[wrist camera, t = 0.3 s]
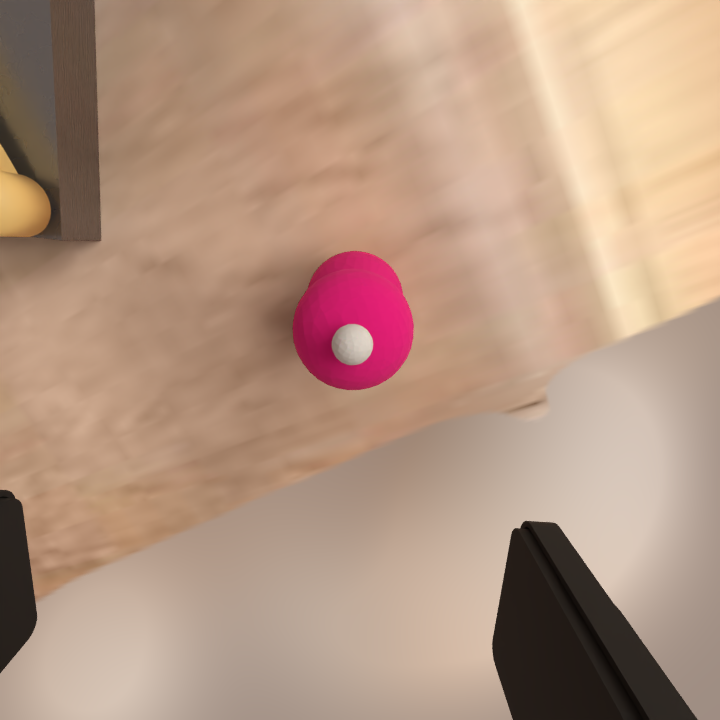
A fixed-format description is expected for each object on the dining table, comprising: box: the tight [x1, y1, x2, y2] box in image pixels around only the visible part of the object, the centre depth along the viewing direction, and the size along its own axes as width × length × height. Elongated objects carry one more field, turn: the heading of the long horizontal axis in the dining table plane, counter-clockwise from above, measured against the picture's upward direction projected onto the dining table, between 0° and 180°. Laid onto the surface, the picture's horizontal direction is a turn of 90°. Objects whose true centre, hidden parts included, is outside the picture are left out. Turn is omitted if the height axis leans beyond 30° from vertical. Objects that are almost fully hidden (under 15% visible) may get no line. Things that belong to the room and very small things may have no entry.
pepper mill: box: [293, 251, 414, 390], centre depth 28 cm, size 7×7×20 cm
